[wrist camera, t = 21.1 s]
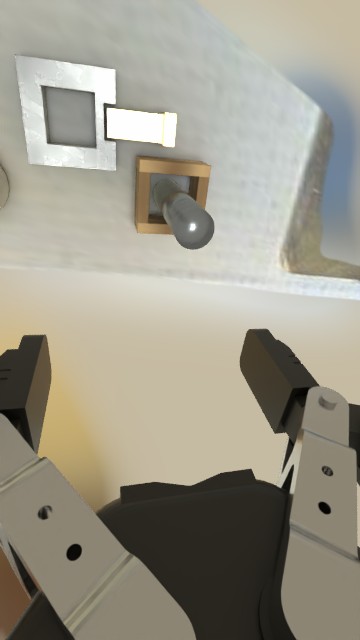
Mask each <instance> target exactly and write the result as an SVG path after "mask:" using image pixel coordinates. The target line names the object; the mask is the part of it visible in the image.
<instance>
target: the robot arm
mask: <svg viewBox="0 0 360 640" xmlns="http://www.w3.org/2000/svg"><path fill="white" fill-rule="evenodd" d="M240 368H241V372H242V374H243V375H244V377H245V379H246V381H247V383H248V385H249V387H250V388H251V390H252V392H253V394H254V396H255V398H256V399H257V401H258V403H259V405H260V407H261V409H262V411H263V413H264V414H265V416H266V418H267V420H268V422H269V424H270V426H271V428H272V429H273V431H274V433H275V434H276V433H285V432H286V433H287V434H288V436H289V437H288V439H287V442H286V446H285V450H284V455H283V459H282V464H281V468H280V473H279V477H278V481H277V485H274V484H271V483H268V482H265V481H261V480H256V479H255V476H254V474H253V472H252V469H246V470H239V471H232V472H224V473H220V474H218V475H216V476H213V477H211V478H209V479H206V480H204V481H202V482H200V483H197V484H195V485H192V486H185V485H176V484H168V483H160V482H151V483H144V484H136V485H129V486H122V487H120V498H119V499H116V500H114V501H112V502H111V503H109V504H107V505H105V506H104V507H102V508H101V509H99V510H98V511H97V512H96V513H94V512H93V511H92V509H91V508H90V507H89V506H88V505H87V503H86V502H85V501H84V500H83V499H82V498H81V496H80V495H79V494H78V493H77V491H76V490H75V489H74V488H73V487H72V485H71V484H70V483H69V482H68V481H67V480H66V478H65V477H64V476H63V475H62V474H61V472H60V471H59V470H58V469H57V468H56V466H55V465H54V464H53V463H52V462H51V461H50V460H49V459H48V458H47V457H43V458H42V459H41V458H39V457H38V456H37V453H38V447H39V443H40V437H41V432H42V427H43V421H44V416H45V411H46V405H47V400H48V395H49V390H50V384H51V363H50V356H49V349H48V342H47V337H46V335H24V336H23V337H22V340H21V343H20V345H19V348H18V349H12V350H7V351H6V352H4V353H3V354H2V355H1V356H0V546H1V547H2V549H3V551H4V553H5V554H6V556H7V558H8V560H9V562H10V564H11V566H12V568H13V570H14V572H15V574H16V576H17V577H18V579H19V581H20V583H21V584H22V586H23V588H24V589H25V591H26V593H27V595H28V596H29V598H30V600H31V603H30V604H29V605H28V607H27V608H26V610H25V612H24V613H23V614H22V616H21V617H20V619H19V620H18V622H17V623H16V625H15V626H14V627H13V629H12V630H11V632H10V633H9V635H8V636H7V638H6V639H5V640H360V548H359V547H358V546H357V482H358V484H359V485H360V405H355V404H348V403H347V401H346V400H345V398H344V397H343V396H342V395H340V394H339V393H338V392H336V391H334V390H332V389H329V388H326V387H321V386H319V384H318V383H317V382H316V381H315V379H314V378H313V377H312V376H311V374H310V373H309V372H308V371H307V369H306V368H305V367H304V365H303V364H301V362H300V360H299V359H298V358H297V357H295V354H294V353H293V352H292V350H291V349H290V348H289V347H288V346H286V345H285V344H284V343H282V342H281V341H279V340H276V339H275V338H274V337H273V335H272V334H271V333H270V332H269V330H268V329H249V330H248V331H247V333H246V337H245V341H244V345H243V349H242V352H241V356H240Z"/></svg>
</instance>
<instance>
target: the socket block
mask: <svg viewBox="0 0 360 640" xmlns="http://www.w3.org/2000/svg"><path fill="white" fill-rule="evenodd" d="M14 56H15V63H16V70H17V78H18V85H19V93H20V100H21V108H22V115H23V123H24V130H25V138H26V145H27V153H28V160H29V164H39V165H51V166H64V167H76V168H88V169H101V170H113V171H116V142H115V141H114V140H104V108H103V103H104V104H112V105H115V104H116V103H115V70H114V69H108V68H101V67H94V66H88V65H81V64H75V63H68V62H61V61H55V60H48V59H41V58H35V57H28V56H21V55H15V54H14ZM45 87H52V88H60V89H67V90H75V91H82V92H90V93H95V111H96V143H97V147H94V146H83V145H73V144H63V143H52V142H50V135H49V125H48V115H47V105H46V95H45Z"/></svg>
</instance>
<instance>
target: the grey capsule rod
mask: <svg viewBox="0 0 360 640" xmlns="http://www.w3.org/2000/svg"><path fill="white" fill-rule="evenodd" d="M153 199H154V201H155V203H156V205H157V207H158V208H159V210H160V212H161V213H162V215H163V217H164V219H165V220H166V222H167V224H168V225H169V227H170V229H171V231H172V232H173V234H174V236H175V237H176V239H177V241H178V242H179V244H180V245H181V246H183V247H185V248H187V249H199V248H202V247H203V246H205V245H206V244H207V243H208V242H209V241H210V240H211V238H212V236H213V233H214V222H213V219H212V217H211V216H210V215H209V214H208V213H207V212H206V211H205V210H204V209H203V208H202V207H201V206H200V205H199V204H198V203H197V202H196V201H195V200H194V199H193V198H191V197H190V196H189V195H188V194H187V193H186V192H185V191H184V190H183V189H182V188H181V187H180V186H179V185H178V184H177V183H176V182H174V181H173V180H170V179H164V180H161V181H160V182H158V183H157V184H156V186H155V187H154V190H153Z"/></svg>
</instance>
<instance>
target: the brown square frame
mask: <svg viewBox="0 0 360 640" xmlns="http://www.w3.org/2000/svg"><path fill="white" fill-rule="evenodd" d="M210 169H211V166H210V165H208V164H206V163H204V162H202V161H191V160H180V159H169V158H159V157H148V156H137V162H136V199H135V226H136V229H137V233H147V234H172V235H174V234H173V232H172V231H171V229H170V227H169V225H168V224H167V222H166V220H165V219H164V217H163V216H157V215H148V213H149V192H150V173H162V174H174V175H186V176H191V179H190V188H189V196H190V197H191V198H193V199H194V200H195V201H196V202H197V203H198V204H199V205H200V206H201V207H202V208H203V209H204V210H205V205H206V198H207V191H208V183H209V176H210Z"/></svg>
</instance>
